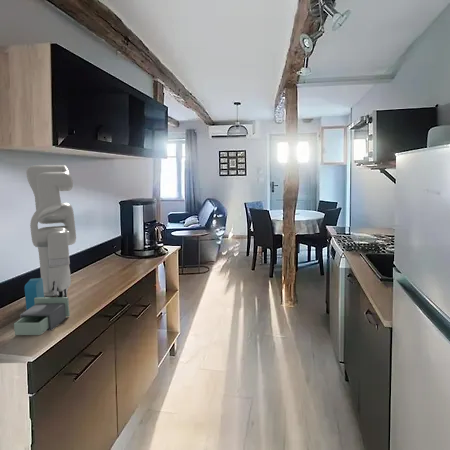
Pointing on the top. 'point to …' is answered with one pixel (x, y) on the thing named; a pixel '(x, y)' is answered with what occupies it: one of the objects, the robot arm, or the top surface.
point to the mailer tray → (38, 318)
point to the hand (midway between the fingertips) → (62, 305)
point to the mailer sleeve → (48, 312)
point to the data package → (33, 291)
